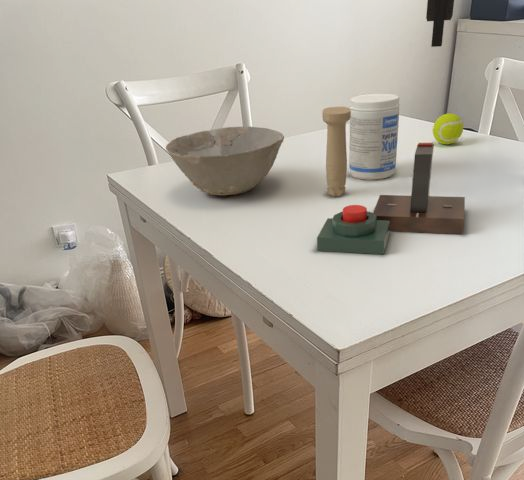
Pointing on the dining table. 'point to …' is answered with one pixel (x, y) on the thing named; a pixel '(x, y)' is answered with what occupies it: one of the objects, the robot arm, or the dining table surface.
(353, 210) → the button
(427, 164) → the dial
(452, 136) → the tennis ball
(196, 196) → the dining table surface
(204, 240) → the dining table surface
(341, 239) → the button box
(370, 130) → the supplement tub
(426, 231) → the panel
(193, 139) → the ceramic bowl
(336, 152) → the handle
